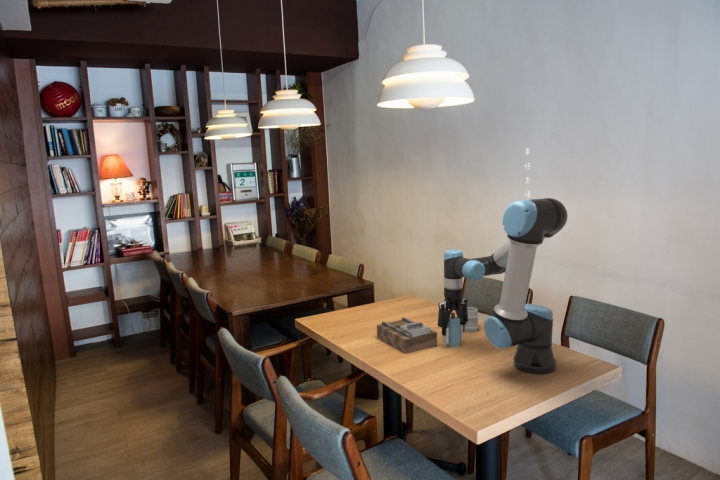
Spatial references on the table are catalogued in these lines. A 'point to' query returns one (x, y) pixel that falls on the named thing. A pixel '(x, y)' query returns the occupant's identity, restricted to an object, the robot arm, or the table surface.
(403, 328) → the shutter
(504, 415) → the table surface
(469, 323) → the mug
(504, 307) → the robot arm
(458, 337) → the blue square bottle
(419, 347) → the socket box
